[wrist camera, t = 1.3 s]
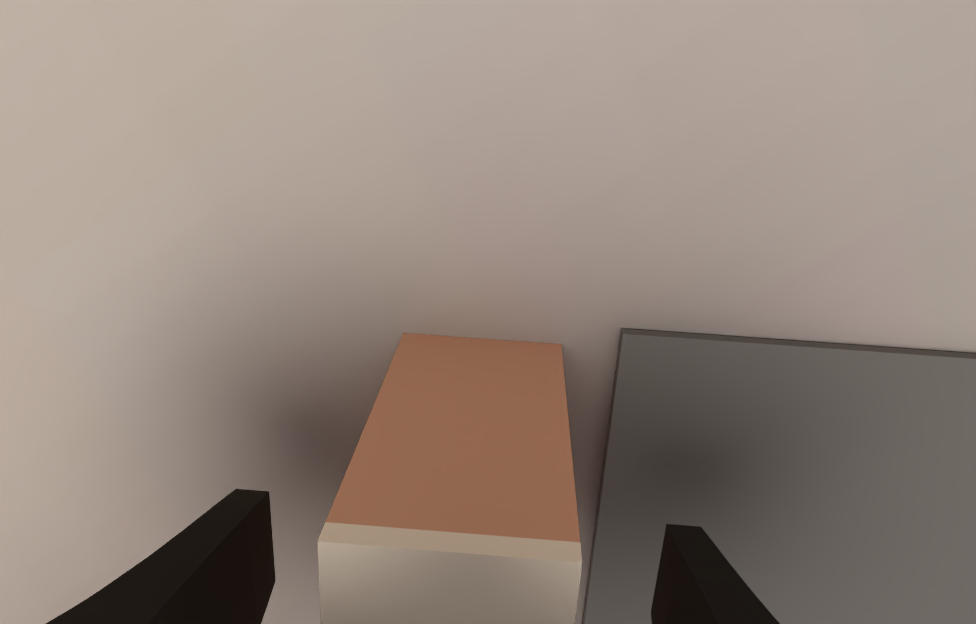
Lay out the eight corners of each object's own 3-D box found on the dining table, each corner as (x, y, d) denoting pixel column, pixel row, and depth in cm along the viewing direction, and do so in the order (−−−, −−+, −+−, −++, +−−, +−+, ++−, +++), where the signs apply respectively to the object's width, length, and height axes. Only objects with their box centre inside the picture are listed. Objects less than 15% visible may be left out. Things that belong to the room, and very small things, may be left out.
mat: (956, 704, 19) (962, 715, 19) (575, 672, 19) (576, 681, 19) (1094, 362, 15) (1104, 368, 15) (621, 328, 16) (623, 334, 15)
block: (542, 529, 18) (550, 819, 11) (401, 518, 18) (328, 798, 11) (561, 344, 16) (582, 562, 10) (403, 332, 16) (317, 541, 10)
